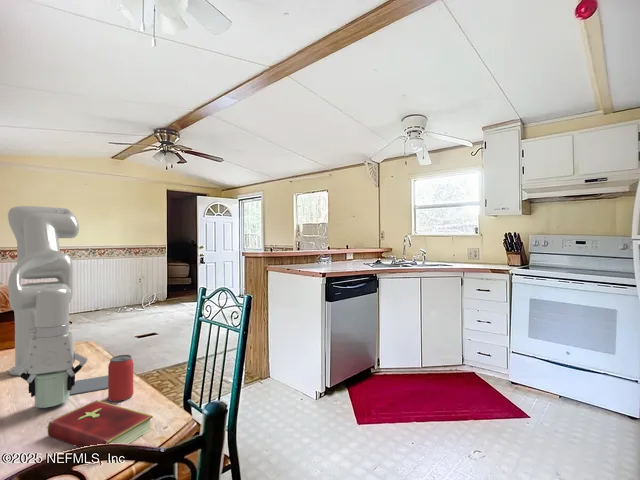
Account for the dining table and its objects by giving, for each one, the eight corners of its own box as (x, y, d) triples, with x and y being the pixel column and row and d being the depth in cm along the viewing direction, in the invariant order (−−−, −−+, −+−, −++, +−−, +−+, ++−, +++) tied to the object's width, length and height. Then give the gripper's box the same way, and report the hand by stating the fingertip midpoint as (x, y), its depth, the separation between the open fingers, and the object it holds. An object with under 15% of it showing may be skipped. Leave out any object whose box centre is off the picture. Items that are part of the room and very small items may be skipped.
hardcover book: (106, 460, 73) (106, 441, 73) (47, 438, 81) (47, 421, 81) (152, 431, 84) (152, 414, 84) (96, 414, 92) (96, 399, 92)
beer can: (121, 403, 97) (121, 362, 97) (102, 401, 98) (102, 360, 98) (138, 393, 103) (138, 354, 103) (120, 391, 105) (120, 353, 105)
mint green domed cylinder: (39, 397, 97) (39, 369, 97) (71, 392, 101) (71, 364, 101) (31, 410, 91) (31, 379, 91) (66, 403, 94) (66, 374, 94)
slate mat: (75, 381, 112) (75, 380, 112) (114, 375, 117) (114, 374, 117) (69, 395, 102) (69, 394, 102) (111, 388, 107) (111, 386, 107)
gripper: (7, 338, 88) (7, 404, 88) (87, 330, 96) (87, 390, 97) (17, 331, 95) (17, 392, 95) (91, 324, 103) (90, 380, 103)
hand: (52, 391), depth 96 cm, fingers closed on mint green domed cylinder, 7 cm apart
